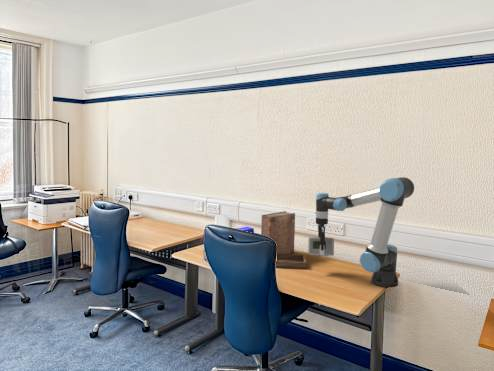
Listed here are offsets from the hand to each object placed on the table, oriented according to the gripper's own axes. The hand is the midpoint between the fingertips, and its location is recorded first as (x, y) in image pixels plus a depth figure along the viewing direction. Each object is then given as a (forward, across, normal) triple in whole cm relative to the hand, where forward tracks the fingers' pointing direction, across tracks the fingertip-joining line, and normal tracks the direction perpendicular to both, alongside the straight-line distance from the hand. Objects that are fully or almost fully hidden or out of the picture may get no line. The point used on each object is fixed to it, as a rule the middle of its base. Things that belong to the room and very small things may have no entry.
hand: (321, 253), depth 240 cm
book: (+11, -32, -27) cm, 44 cm away
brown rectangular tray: (+11, -13, -20) cm, 26 cm away
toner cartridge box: (+11, -25, -62) cm, 67 cm away
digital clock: (+1, +1, 0) cm, 1 cm away
